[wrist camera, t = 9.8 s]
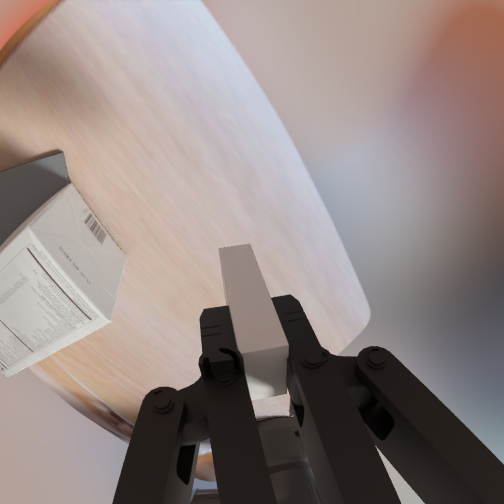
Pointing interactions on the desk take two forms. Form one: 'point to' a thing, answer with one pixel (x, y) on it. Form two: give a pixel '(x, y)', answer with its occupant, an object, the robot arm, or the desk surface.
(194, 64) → the desk surface
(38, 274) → the supplement box
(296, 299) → the robot arm
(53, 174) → the mat
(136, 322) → the desk surface
